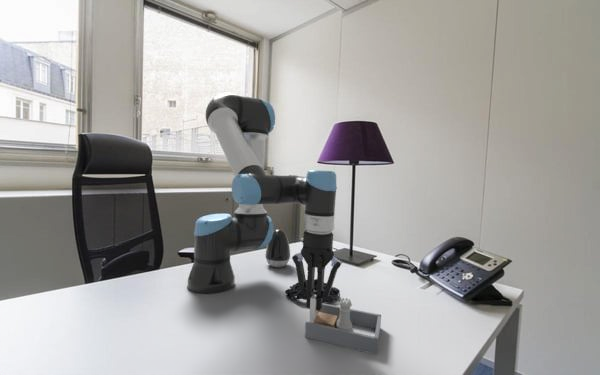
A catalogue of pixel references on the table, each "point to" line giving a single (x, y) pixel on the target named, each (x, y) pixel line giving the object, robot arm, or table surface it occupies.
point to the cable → (296, 292)
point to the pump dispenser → (278, 249)
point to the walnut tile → (326, 319)
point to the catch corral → (344, 336)
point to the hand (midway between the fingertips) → (313, 320)
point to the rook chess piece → (344, 315)
